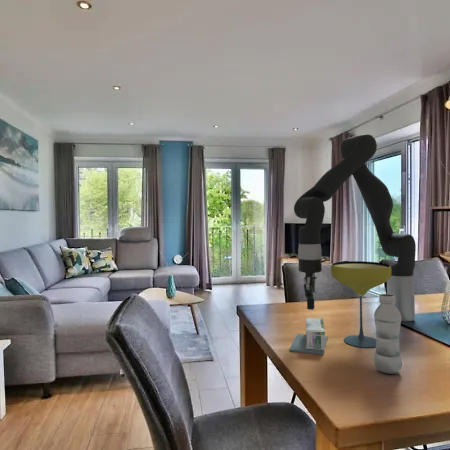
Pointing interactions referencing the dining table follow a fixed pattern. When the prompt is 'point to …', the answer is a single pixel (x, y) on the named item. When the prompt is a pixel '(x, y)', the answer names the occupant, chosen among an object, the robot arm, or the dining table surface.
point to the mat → (304, 345)
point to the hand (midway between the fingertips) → (310, 308)
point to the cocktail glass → (361, 288)
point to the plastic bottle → (387, 335)
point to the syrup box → (315, 334)
